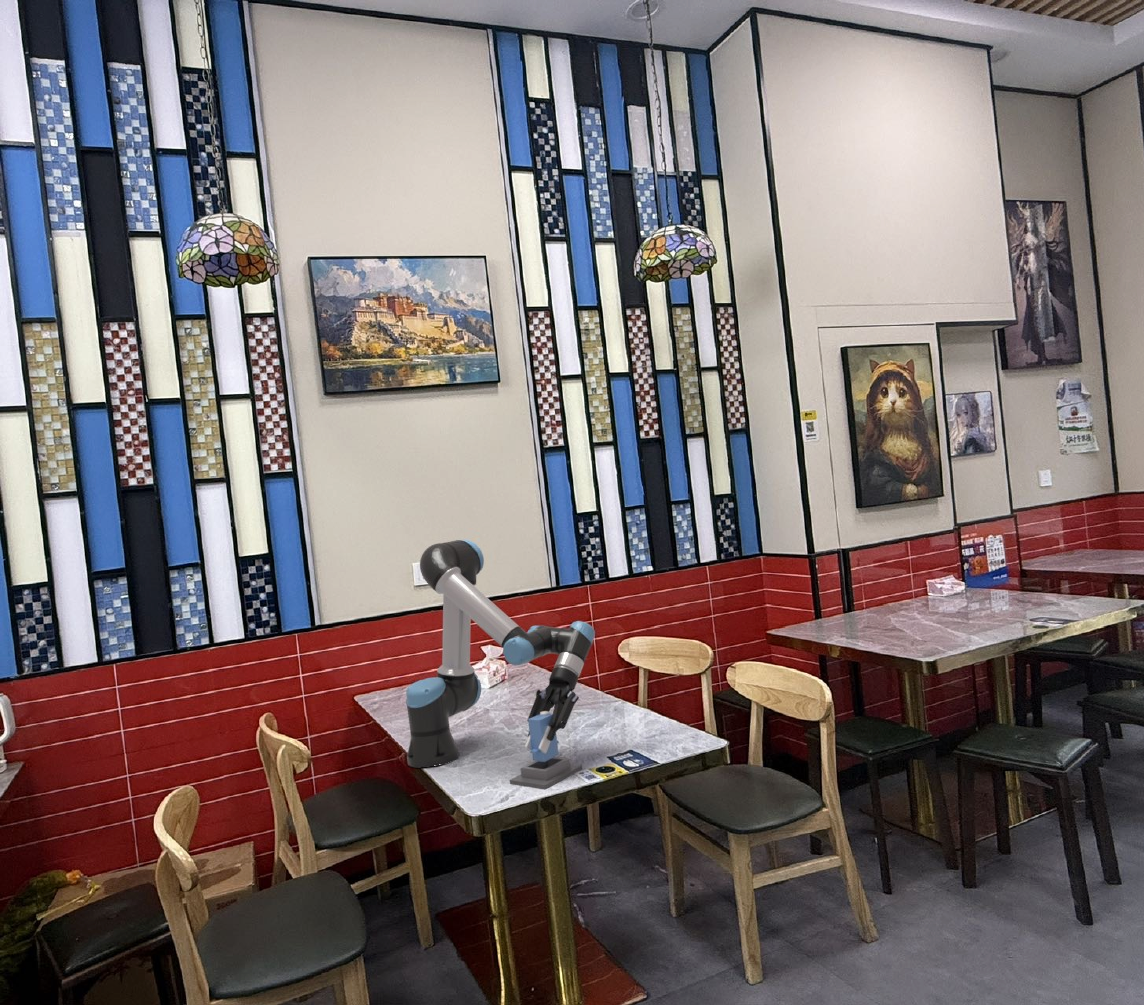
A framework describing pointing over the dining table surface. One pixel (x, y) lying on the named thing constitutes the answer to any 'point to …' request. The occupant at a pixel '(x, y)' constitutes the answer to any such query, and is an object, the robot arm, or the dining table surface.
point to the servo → (536, 734)
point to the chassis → (545, 773)
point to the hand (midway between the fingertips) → (535, 750)
